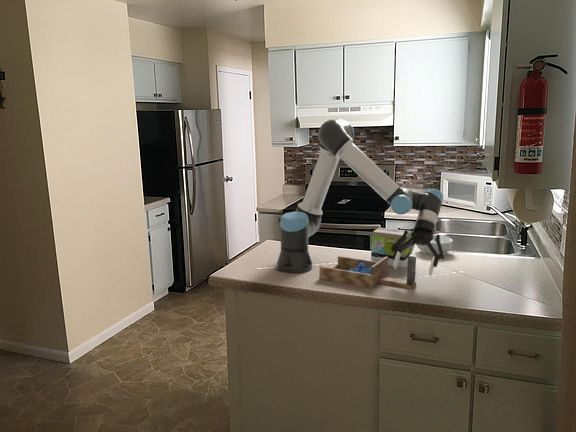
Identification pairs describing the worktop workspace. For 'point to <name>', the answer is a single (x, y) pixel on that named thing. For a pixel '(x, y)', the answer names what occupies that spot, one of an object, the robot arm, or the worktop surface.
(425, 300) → the worktop surface
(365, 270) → the grapes
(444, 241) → the cereal bowl
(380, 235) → the tea box
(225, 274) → the worktop surface
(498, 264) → the worktop surface
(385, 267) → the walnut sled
